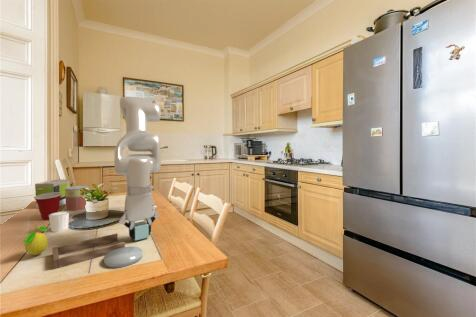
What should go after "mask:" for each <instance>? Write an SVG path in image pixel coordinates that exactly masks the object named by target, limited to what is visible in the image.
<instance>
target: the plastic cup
mask: <svg viewBox="0 0 476 317" xmlns="http://www.w3.org/2000/svg"><path fill="white" fill-rule="evenodd" d="M61 195H62V193H61V192H52V193H45V194H41V195H37V196H36V195H35V196H34V197H33V199H34V200H35V202H37V204H38V207H39V209H38V210H39V211H38V212H39V214H40V216H41V219H42V220H43V221H48V220H49V221H50V219H49V215H50V214H52V213H56V212H59V209H60V206H59V204H60V198H61Z"/></svg>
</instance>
